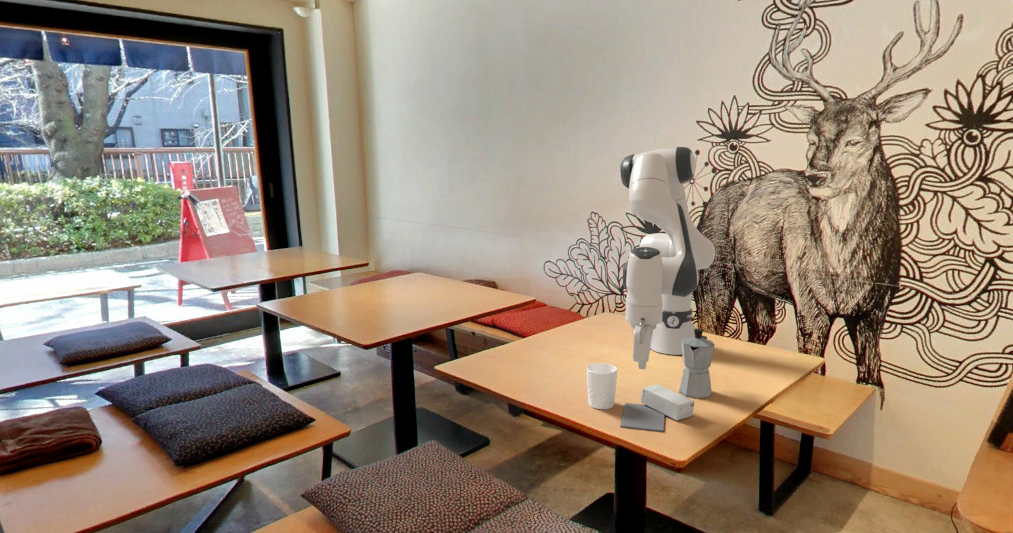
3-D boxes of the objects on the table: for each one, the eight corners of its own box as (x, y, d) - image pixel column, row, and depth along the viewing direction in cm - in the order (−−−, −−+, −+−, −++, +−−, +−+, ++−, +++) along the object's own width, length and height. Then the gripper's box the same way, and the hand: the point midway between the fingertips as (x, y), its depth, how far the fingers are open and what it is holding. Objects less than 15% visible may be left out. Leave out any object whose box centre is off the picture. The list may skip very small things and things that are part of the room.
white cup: (622, 403, 154) (623, 367, 152) (605, 413, 148) (606, 375, 147) (596, 396, 159) (597, 361, 158) (580, 405, 154) (580, 368, 152)
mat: (625, 404, 154) (625, 402, 154) (664, 408, 151) (665, 406, 151) (620, 427, 141) (620, 425, 140) (663, 431, 138) (663, 430, 138)
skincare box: (639, 402, 153) (676, 422, 143) (641, 386, 152) (678, 405, 142) (656, 398, 156) (692, 417, 146) (658, 382, 155) (695, 401, 145)
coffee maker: (707, 403, 153) (711, 337, 150) (673, 397, 158) (676, 333, 155) (717, 385, 166) (720, 323, 163) (686, 379, 171) (688, 320, 167)
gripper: (655, 326, 134) (653, 383, 136) (658, 304, 153) (656, 355, 156) (627, 324, 136) (626, 381, 138) (633, 303, 155) (632, 353, 157)
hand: (642, 367), depth 147 cm, fingers closed
